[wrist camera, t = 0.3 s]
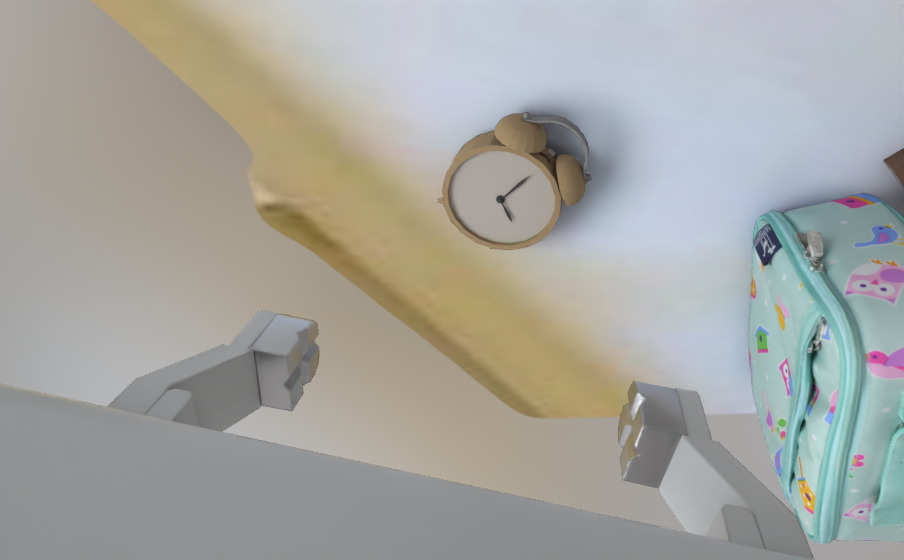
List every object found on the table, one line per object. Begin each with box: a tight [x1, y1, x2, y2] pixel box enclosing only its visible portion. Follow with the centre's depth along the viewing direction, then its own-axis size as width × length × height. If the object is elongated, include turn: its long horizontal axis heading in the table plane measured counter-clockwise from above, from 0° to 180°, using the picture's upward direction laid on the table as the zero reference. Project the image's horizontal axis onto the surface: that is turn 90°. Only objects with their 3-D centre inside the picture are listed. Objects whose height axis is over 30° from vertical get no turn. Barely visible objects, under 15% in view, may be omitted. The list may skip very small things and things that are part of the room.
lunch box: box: [749, 194, 904, 544], centre depth 46 cm, size 27×10×21 cm, turn 17°
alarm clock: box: [438, 112, 592, 250], centre depth 51 cm, size 11×5×15 cm
